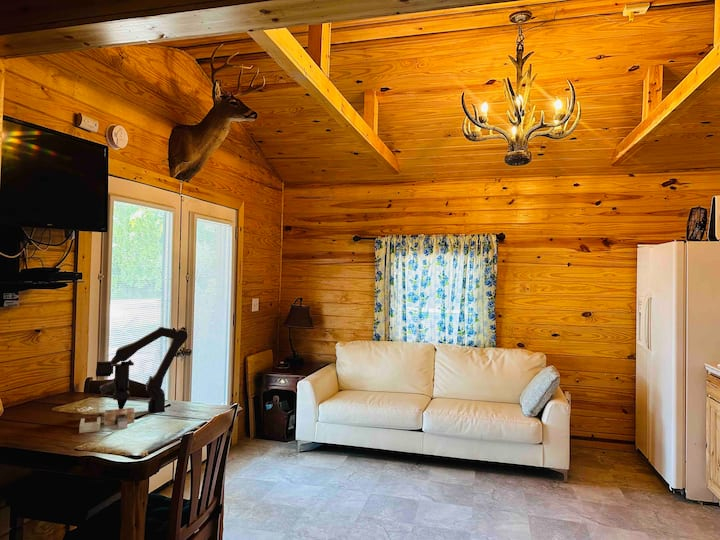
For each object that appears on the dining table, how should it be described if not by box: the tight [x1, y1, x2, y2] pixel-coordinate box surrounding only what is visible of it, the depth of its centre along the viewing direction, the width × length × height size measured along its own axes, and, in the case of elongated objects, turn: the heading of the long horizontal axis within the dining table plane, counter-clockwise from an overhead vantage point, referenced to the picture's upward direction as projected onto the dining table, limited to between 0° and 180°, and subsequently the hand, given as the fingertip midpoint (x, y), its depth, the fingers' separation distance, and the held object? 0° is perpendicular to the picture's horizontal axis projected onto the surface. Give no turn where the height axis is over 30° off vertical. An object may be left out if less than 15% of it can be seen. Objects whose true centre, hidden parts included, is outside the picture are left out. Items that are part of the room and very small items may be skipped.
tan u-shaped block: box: [103, 407, 135, 426], centre depth 200 cm, size 11×6×5 cm, turn 117°
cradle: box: [78, 416, 102, 434], centre depth 191 cm, size 7×10×3 cm
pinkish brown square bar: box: [115, 414, 128, 430], centre depth 200 cm, size 18×3×3 cm, turn 31°
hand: (120, 410), depth 212 cm, fingers closed
